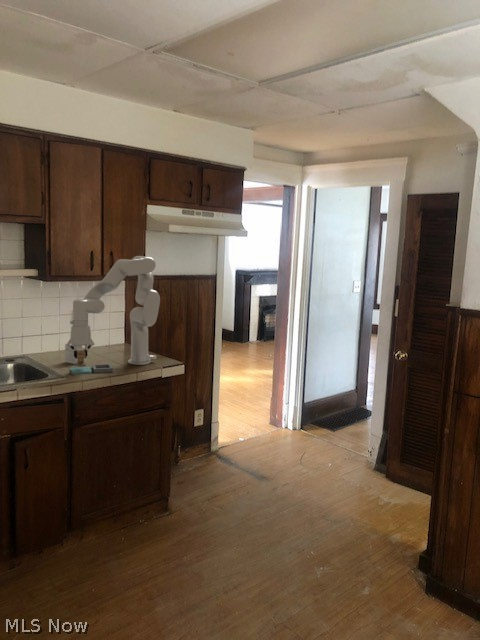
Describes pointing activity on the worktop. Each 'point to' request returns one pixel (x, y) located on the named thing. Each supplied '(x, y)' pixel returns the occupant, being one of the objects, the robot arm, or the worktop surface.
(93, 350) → the worktop surface
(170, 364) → the worktop surface
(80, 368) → the tile
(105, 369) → the socket
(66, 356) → the small box
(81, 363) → the t-key
